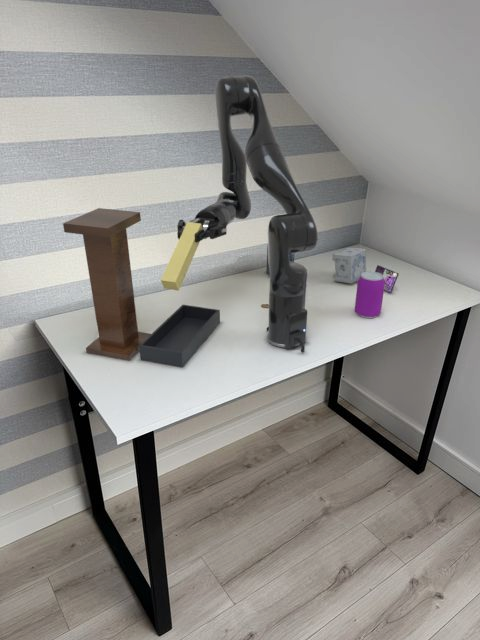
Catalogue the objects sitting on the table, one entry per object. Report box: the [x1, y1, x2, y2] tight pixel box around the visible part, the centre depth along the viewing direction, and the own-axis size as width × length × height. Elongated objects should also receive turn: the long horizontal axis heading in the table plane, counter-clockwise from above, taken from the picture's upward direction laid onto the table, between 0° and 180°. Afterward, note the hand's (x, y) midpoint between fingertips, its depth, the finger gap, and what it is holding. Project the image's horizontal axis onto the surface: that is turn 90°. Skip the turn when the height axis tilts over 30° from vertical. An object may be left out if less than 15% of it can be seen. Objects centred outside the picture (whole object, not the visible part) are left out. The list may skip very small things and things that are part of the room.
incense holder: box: [332, 247, 367, 284], centre depth 171 cm, size 10×8×10 cm
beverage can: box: [354, 270, 386, 319], centre depth 148 cm, size 8×8×12 cm
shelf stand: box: [62, 207, 152, 362], centre depth 123 cm, size 14×12×33 cm
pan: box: [139, 304, 221, 368], centre depth 134 cm, size 25×11×4 cm, turn 163°
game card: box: [374, 264, 399, 294], centre depth 167 cm, size 7×5×9 cm
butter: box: [160, 221, 202, 291], centre depth 126 cm, size 19×4×3 cm, turn 164°
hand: (187, 237), depth 127 cm, fingers closed on butter, 4 cm apart
